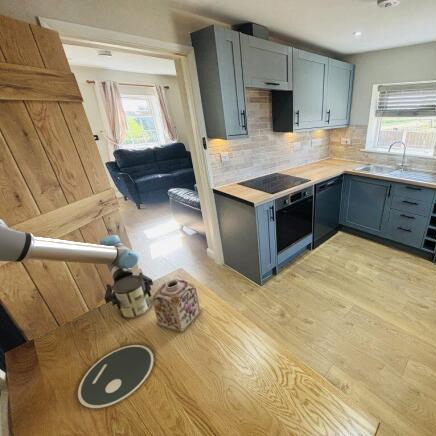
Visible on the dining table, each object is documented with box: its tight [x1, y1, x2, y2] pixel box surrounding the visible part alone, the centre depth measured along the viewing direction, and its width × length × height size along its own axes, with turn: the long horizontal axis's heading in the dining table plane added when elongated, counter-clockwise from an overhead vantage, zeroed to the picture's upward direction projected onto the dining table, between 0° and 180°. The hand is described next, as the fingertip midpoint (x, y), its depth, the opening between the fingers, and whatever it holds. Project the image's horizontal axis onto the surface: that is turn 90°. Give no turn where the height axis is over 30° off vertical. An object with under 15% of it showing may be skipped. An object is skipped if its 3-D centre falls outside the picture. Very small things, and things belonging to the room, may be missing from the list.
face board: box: [77, 344, 154, 409], centre depth 76 cm, size 20×20×1 cm
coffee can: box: [112, 274, 151, 319], centre depth 98 cm, size 10×10×14 cm
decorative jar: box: [151, 278, 201, 333], centre depth 94 cm, size 12×12×18 cm
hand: (134, 300), depth 95 cm, fingers closed on coffee can, 10 cm apart
